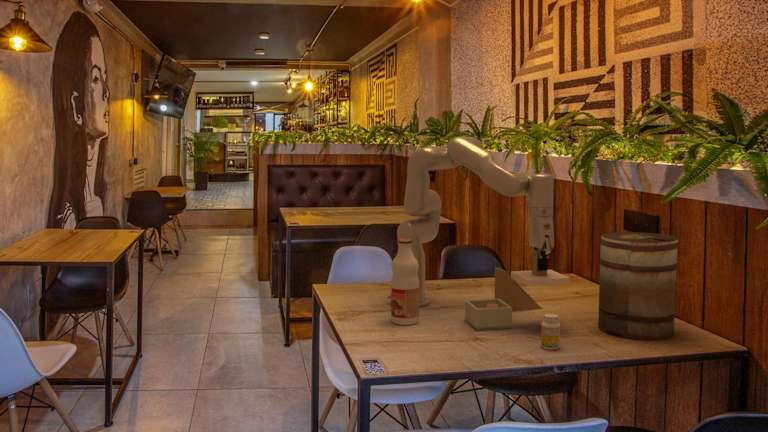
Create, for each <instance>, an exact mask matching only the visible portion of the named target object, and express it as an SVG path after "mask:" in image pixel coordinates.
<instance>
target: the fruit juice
mask: <svg viewBox="0 0 768 432" xmlns="http://www.w3.org/2000/svg"><path fill="white" fill-rule="evenodd" d="M411 245H412V239H397V246H398V248H397V253H396V255H395V257H394V258H393V260H392V261H391V271H392V277H391V279H390V293H391V298H390V310H391V311H390V313H391V314H390V316H391V317H390V320H391V323H393V324H395V325H398V326H411V325H416V324H418V323H419V320H420V306H419V279H418V276H417V272H418V268H419V265H418V261H417V260H416V258H415V257H414V255H413V253H412V249H411Z"/></svg>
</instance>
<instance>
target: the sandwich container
mask: <svg viewBox="0 0 768 432" xmlns="http://www.w3.org/2000/svg"><path fill="white" fill-rule="evenodd" d="M517 282H518V281H517V280H515V279H513V278H511V274H509V273H508V271H506V270H504V269H502V268H500V267H496V266H495V267H494V299H500V300H502V301H503V302H505V303H506V304H508V305H509V306H511V307H512V313H513V312H522V311H531V310H542V309H543V308H542V306H540V305H539V304H538V302H536V301H535V300H534V299H533V298H532V297H531V296H530V295H529V294H528V293H527V291H526V290H524V288H523V287H522V286H521V285H520V284H518V283H517Z"/></svg>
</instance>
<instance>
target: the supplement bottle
mask: <svg viewBox="0 0 768 432" xmlns="http://www.w3.org/2000/svg"><path fill="white" fill-rule="evenodd" d="M540 329H541V334H540V335H541V337H540V346H541V348H542V349H544V350H549V351H554V350H559V349H560V345H561V324H560V322H559V315H557V314H555V313H545V314H544V315H543V321H542V322H541V328H540Z"/></svg>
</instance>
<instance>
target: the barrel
mask: <svg viewBox="0 0 768 432" xmlns="http://www.w3.org/2000/svg"><path fill="white" fill-rule="evenodd" d="M678 243H679V238H678V237H676V236H673V235H670V234H661V233H655V232H640V231H639V232H636V231H617V232H606V233H603V234H601V235H600V255H599V257H600V259H599V287H598V288H599V290H598V294H599V295H598V317H597V318H598V320H597V321H598V323H597V326H598V330H600V331H601V332H602V333H604V334H606V335H609V336H613V337H615V338H620V339H623V340H624V339H625V340H633V341H644V342H645V341H646V342H650V341H651V342H653V341H654V342H655V341H663V340H668V339H670V338H672V337H674V333H675V331H674V330H675V311H676V310H675V309H676V292H677V291H676V289H677V268H678V267H677V266H678V265H677V264H678V247H679V246H678Z"/></svg>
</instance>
